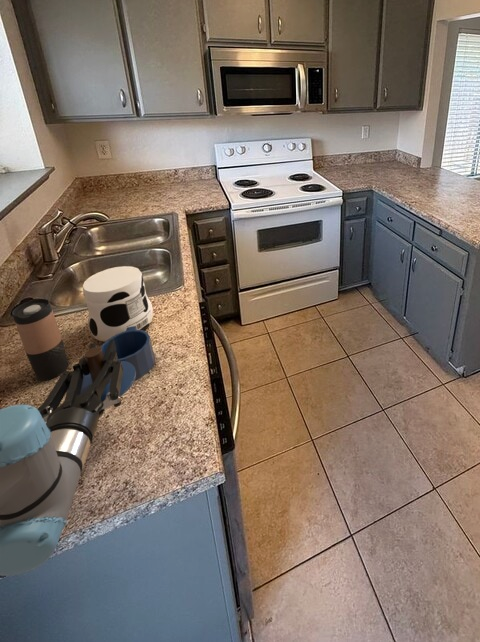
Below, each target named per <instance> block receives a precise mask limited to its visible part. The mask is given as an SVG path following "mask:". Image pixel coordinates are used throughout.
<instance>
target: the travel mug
mask: <svg viewBox="0 0 480 642" xmlns="http://www.w3.org/2000/svg"><path fill="white" fill-rule="evenodd" d="M52 307H53V306H52V304H51V302H50V300H49V299H47V298H37V299H32V300H29V301H25V302H24V303H22V304H20V305H18V306H16V307H15V308H13V310H12V312H11V315H12V318H13V321H14V323H15V326H16V330H17V332H18V336H19V337H20V341H21V343H22V346H23V349H24V352H25V354H26V356H27V359H28V362H29V364H30V366H31V369H32V371H33V373H34V375H35V378H36V379H37V380H39V381H49V380H53V379H55V378H57V377H60V376H61V375H62V373H64V372H65V371H67V370H68V368H69V358H68V355H67V352H66V349H65V344H64V340H63V338H62V334H61V331H60V329H59V325H58V322H57V320H56V316H55V314H54V310H53V308H52Z"/></svg>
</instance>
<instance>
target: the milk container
mask: <svg viewBox="0 0 480 642" xmlns="http://www.w3.org/2000/svg"><path fill="white" fill-rule="evenodd" d="M82 294H83V296H84V301H85V304H86V305H85V306H86V307H87V311H88V320H87V324H88V329H89V331H90V333H91V335H92V337H93V338H94V339H95V340H97V341H99V342H101V343H105V342H106V341H107V340H108V339H110V338H111V337H113V336H115V335H117V334H119V333H122V332H125V331H126V329H127V328H128V327H133V326H136V327H137V330H143V331H146V329H147V328H148V327H149V326H150V325H151V323H152V321H153V319H154V309H153V304H152V302H151V300H150V298H149V297H148V295H147V292H146V285H145V282H144V276H143V273H142V271H141V270H140V269H139V268H138V267H135V266H131V265H130V266H129V265H123V266H115V267H111V268H106V269H104V270H101V271H98V272H96V273H94V274H93V275H91V276H89V277H88V278H87V279H86V280H85V281H84V282H83V284H82Z"/></svg>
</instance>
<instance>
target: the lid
mask: <svg viewBox="0 0 480 642" xmlns="http://www.w3.org/2000/svg"><path fill="white" fill-rule="evenodd" d="M88 349H89V348H88ZM88 349H87V350H86V351H85V352H84V357H85V359H86V362H87V365H88V369H89V372H90V373H89V375H85V376H84V374H83V376H84V378H83V383H82V387H81V392H80V395H82V394H85V393H86V391H87V390H88V388H89V387H90V386H92V385H93V383H94V381H95V379H96V378H97V376H98V374H99V373H100V371H101V369H102V368H103V362H102V360H103V358H104V355H103V352H102V348H101V346H96V347H94V348H91V349H89V350H88ZM121 363H122V367H123V377H122V383H121V388H120V394H119V395H120V398H121V397H123V395H125V394H126V393H127V392H128V391H129V390H130V388H131V387H132V386H133V384H134V382H136V380H135V378H136V370H135V368H134V366H133V365H132V364H131V363H129V362H126V361H121ZM110 382H111V378H110V380H109V382H108V384H107V386H106V388H105V389H104V391H103V393H102V395H101V401H102V402H103V401H104V400H105V399H106V396H107V393H108V392H110V391H109V386H110ZM68 390H69V388H68ZM68 390H67V392H68ZM67 392H66V393H67Z"/></svg>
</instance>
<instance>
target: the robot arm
mask: <svg viewBox="0 0 480 642" xmlns="http://www.w3.org/2000/svg"><path fill="white" fill-rule="evenodd" d="M94 347H97V345H96V342H92V343H90V345H89V347H88V349H87V351H88V350H89V349H91V348H94ZM116 350H117V349H116V345H115V341H114V339H113V340H110V342H109V345H108V347H107V350H106V352H105V355H104V358H103V360H102V362H103V368H102V369H101V371H100V373H99V374H98V376H97V378H96V379H95V381H94V383H93V385H92V386H90V387H89V388H88V390H87V391H86V393H85V394H82V395H80V392H81V387H82V383H83V378H84V376H85V375H89V373H90V372H89V369H88V365H87V362H86V359H85V356H84V357H81V358H80V359H79V360H78V363H75V364H73V365H72V369H73V370H71V371H69V370H65V371H64V372H63V373H62V374H61V375H59V377H58V380H56V383H55V384H54V385H53V387H52V389H51V390H50V392H49V393H48V395H47V397H46V398H45V400H44V401H43V403H42V404H41V405H39V407H38V408H37V407H35V406H33V405H30V404H14V405H10V406H7V407H3V408H1V409H0V576H2V577H3V576H5V577H10V576H17V575H22V574H24V573H26V572H27V573H28V572H30V571H33V570H36V569H37V568H39V567H40V566H42V565H43V564H45V563H46V562H47V561H48V560H49V559H50V558H51V556H52V555H53V554H54V552H55V550H56V549H57V547H58V546H57V545H58V544H59V541H60V538H61V535H62V533H63V530H64V528H65V527H66V525H67V522H68V520H67V519H68V516H69V513H70V510H71V507H72V504H73V500H74V497H75V494H76V492H77V488H78V484H79V482H80V478H81V475H82V473H83V470H84V466H85V464H86V461H87V458H88V456H89V451H90V449H91V446H92V443H93V440H94V437H95V434H96V431H97V428H98V425H99V421H100V417H101V416H103V415H104V413H105V410H106V409H108V408H110V407H112V406H113V407H115V408H118V407H119V406H121V405H122V399H121V397H120V395H119V394H120V388H121V383H122V377H123V367H122V363H121V361H120V360H118V361H117V359H118V357H117V353H116ZM83 374H84V376H83ZM110 378H111V382H110V386H109V391H110V392H108V393H107V396H106V399H105V400H104V401H103V402H102V401H101V395H102V393H103V391H104V389H105V388H106V386H107V384H108V382H109V380H110ZM68 388H69V390H68ZM67 390H68V392H67ZM63 399H64V401H63V402H62V400H63ZM61 402H62V403H61Z"/></svg>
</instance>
